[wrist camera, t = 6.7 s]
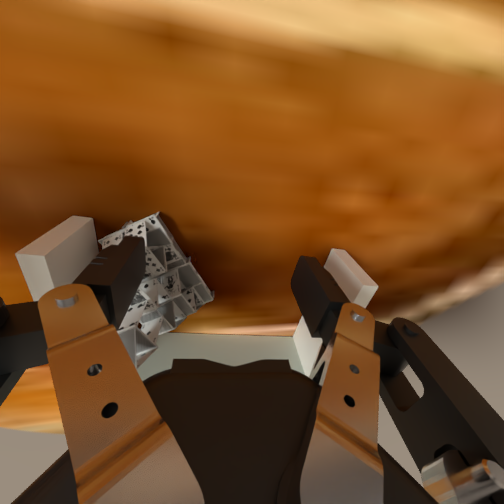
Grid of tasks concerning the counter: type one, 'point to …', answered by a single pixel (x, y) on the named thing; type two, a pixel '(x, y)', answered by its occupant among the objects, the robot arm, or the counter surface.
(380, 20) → the counter surface
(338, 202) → the counter surface
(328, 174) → the counter surface
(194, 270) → the house of cards
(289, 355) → the box
